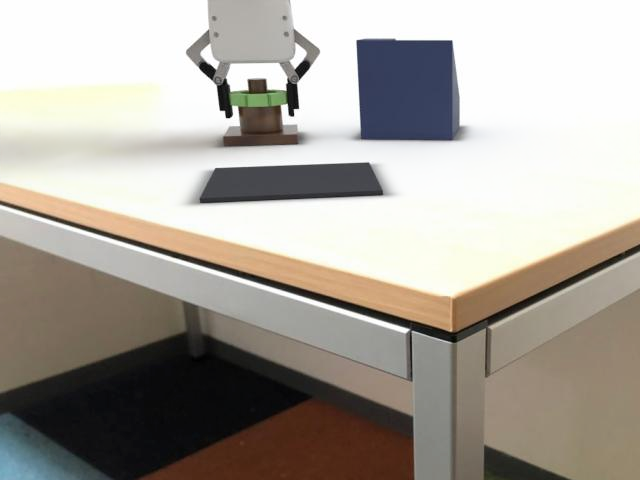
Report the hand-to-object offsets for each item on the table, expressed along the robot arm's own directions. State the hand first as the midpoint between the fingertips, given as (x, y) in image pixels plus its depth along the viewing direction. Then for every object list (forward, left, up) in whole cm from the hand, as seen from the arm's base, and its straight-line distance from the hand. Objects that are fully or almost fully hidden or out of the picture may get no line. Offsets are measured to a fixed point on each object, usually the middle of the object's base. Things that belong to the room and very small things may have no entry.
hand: (260, 115), depth 96 cm
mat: (+4, -28, -3) cm, 28 cm away
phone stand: (+20, +2, -3) cm, 20 cm away
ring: (0, 0, +1) cm, 1 cm away
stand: (0, 0, -3) cm, 3 cm away
